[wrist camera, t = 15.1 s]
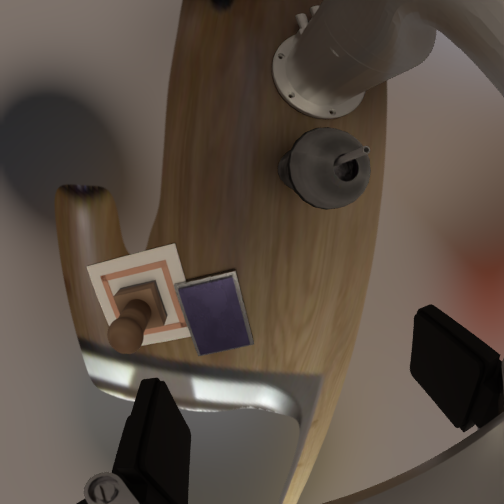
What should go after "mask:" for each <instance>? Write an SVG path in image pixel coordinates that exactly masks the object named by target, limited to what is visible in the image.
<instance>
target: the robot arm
mask: <svg viewBox="0 0 504 504" xmlns="http://www.w3.org/2000/svg"><path fill="white" fill-rule="evenodd" d="M310 13H311V16H312V18H311V20H310V22H309V23H308V19H307V16H306V14H303V13H302V14H298V15H296V20H297V23H298V25H299V27H300V29H299V31H298V32H297V34H296V35H293V36H291V37H289V38H288V39H286V40H285V41H284V42H283V43H282V44H281V45H280V46H279V48H278V49H277V51H276V53H275V55H274V58H273V62H272V76H273V80H274V84H275V86H276V88H277V90H278V92H279V93H280V94H281V96H282V97H283V99H284V100H285V101H286V102H287V103H288V104H289V105H290V106H292V107H293V108H295V109H296V110H297V111H299V112H301V113H303V114H305V115H307V116H311V117H314V118H319V119H334V118H338V117H342V116H344V115H346V114H348V113H350V112H351V111H353V110H354V109H355V108H356V107H357V106H358V105H359V104H360V102H361V101H362V99H363V97H364V94H365V91H366V90H368V89H370V88H372V87H374V86H376V85H378V84H380V83H382V82H384V81H386V80H388V79H391V78H393V77H395V76H397V75H399V74H401V73H403V72H405V71H408V70H410V69H412V68H414V67H416V66H418V65H419V64H421V63H422V62H423V61H424V60H425V59H426V58H427V57H428V56H429V54H430V53H431V51H432V49H433V46H434V43H435V38H436V29H437V30H438V31H440V32H442V33H443V34H444V35H445V36H446V37H447V38H448V39H450V40H451V41H452V42H453V43H454V44H455V45H456V46H457V47H458V48H460V49H461V50H462V51H463V52H464V53H465V54H466V55H467V56H468V57H469V58H470V59H471V60H472V61H473V62H474V63H475V64H476V65H477V66H478V68H479V69H480V70H481V71H482V72H483V73H484V74H485V75H486V77H487V78H488V79H489V80H490V81H491V82H492V84H493V85H494V86H495V87H496V88H497V89H498V91H499V92H500V93H501V94H502V95H503V97H504V0H324V1H323V2H322V4H321V5H320V6H313V7H311V8H310ZM278 57H280V58H282V59H279V58H278ZM288 95H291V96H292V98H289V97H288ZM329 111H331V112H332V114H330V112H329ZM499 357H500V354H498V353H497V352H496V351H495V350H493V349H492V348H491V347H490V346H488V345H487V344H486V343H484V342H483V341H482V340H480V339H479V338H478V337H476V336H475V335H474V334H472V333H471V332H470V331H468V330H467V329H466V328H464V327H463V326H462V325H460V324H459V323H457V322H456V321H455V320H453V319H452V318H451V317H449V316H448V315H446V314H445V313H444V312H442V311H441V310H439V309H438V308H437V307H435V306H434V305H428V306H425V307H423V308H420V309H419V310H418V311H417V314H416V315H415V316H414V329H413V342H412V353H411V362H410V372H411V374H412V376H413V377H414V379H415V380H416V381H417V382H418V383H419V384H420V385H421V387H422V388H423V389H424V390H425V391H426V393H427V394H428V395H429V396H430V397H431V398H432V400H433V401H434V402H435V403H436V404H437V406H438V407H439V408H440V409H441V410H442V412H443V413H444V414H445V415H446V416H447V418H448V419H449V420H450V421H451V422H452V424H453V425H454V426H455V427H456V428H459V427H460V429H461V430H462V431H463V432H465V431H467V430H468V429H470V428H471V427H473V426H474V425H476V426H477V427H478V430H477V431H476V432H475V433H473V434H471V435H470V436H468V437H467V438H465V439H464V440H462V441H461V442H459V443H457V444H456V445H454V446H453V447H451V448H449V449H448V450H446V451H444V452H442V453H441V454H439V455H437V456H435V457H434V458H432V459H430V460H428V461H426V462H424V463H423V464H421V465H419V466H417V467H415V468H413V469H411V470H409V471H407V472H405V473H402V474H400V475H398V476H396V477H394V478H392V479H389V480H387V481H385V482H382V483H380V484H377V485H375V486H373V487H370V488H367V489H365V490H362V491H359V492H357V493H354V494H351V495H348V496H345V497H342V498H339V499H336V500H333V501H329V502H326V503H323V504H504V359H503V361H501V360H499ZM190 446H191V433H190V429H189V427H188V425H187V424H186V422H185V420H184V418H183V416H182V414H181V413H180V411H179V409H178V407H177V405H176V403H175V401H174V399H173V397H172V395H171V393H170V391H169V389H168V387H167V385H166V383H165V382H164V381H160V380H159V379H158V378H150V379H143V380H142V381H141V383H140V386H139V390H138V393H137V396H136V399H135V402H134V406H133V409H132V412H131V415H130V416H129V417H128V418H127V420H126V423H125V427H124V430H123V433H122V437H121V440H120V444H119V447H118V451H117V454H116V458H115V462H114V465H113V470H112V473H109V472H104V473H99V474H96V475H94V476H93V477H92V478H90V479H89V480H88V482H87V483H86V485H85V487H84V496H85V499H84V500H82V501H80V502H79V503H77V504H188V485H189V464H190Z"/></svg>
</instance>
